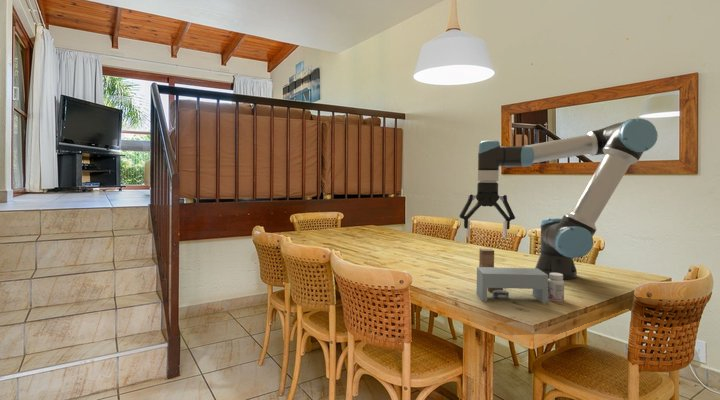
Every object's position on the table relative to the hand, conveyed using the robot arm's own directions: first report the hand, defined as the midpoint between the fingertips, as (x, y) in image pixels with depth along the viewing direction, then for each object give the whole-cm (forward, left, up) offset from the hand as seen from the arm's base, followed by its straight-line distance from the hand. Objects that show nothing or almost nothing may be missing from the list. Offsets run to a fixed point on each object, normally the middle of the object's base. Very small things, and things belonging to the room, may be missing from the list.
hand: (486, 237), depth 147 cm
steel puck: (0, +21, -17) cm, 27 cm away
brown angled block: (0, +6, -17) cm, 18 cm away
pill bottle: (-17, +22, -17) cm, 33 cm away
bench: (-3, +22, -17) cm, 27 cm away
